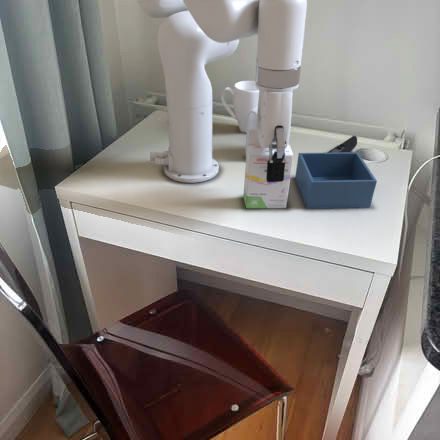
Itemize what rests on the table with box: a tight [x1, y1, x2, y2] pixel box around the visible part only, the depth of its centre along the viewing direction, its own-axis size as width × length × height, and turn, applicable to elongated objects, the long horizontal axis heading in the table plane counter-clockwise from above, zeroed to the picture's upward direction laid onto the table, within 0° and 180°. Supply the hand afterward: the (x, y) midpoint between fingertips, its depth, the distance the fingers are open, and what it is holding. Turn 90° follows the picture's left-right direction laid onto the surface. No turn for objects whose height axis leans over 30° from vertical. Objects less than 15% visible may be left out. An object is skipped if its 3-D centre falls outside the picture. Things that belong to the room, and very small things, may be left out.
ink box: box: [243, 129, 294, 209], centre depth 90 cm, size 9×5×15 cm, turn 93°
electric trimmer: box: [326, 135, 358, 153], centre depth 110 cm, size 4×16×3 cm, turn 142°
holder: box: [294, 151, 378, 210], centre depth 96 cm, size 13×13×6 cm
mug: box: [220, 80, 259, 134], centre depth 120 cm, size 12×8×11 cm
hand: (270, 169), depth 89 cm, fingers open, 9 cm apart
